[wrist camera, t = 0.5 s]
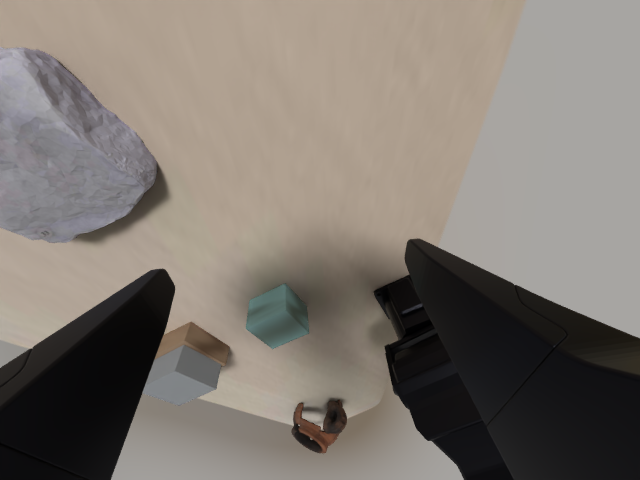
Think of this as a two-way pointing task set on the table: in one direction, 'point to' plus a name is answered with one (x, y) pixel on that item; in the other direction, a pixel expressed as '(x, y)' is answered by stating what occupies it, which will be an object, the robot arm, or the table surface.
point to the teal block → (277, 317)
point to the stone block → (63, 153)
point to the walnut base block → (194, 343)
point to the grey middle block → (182, 376)
